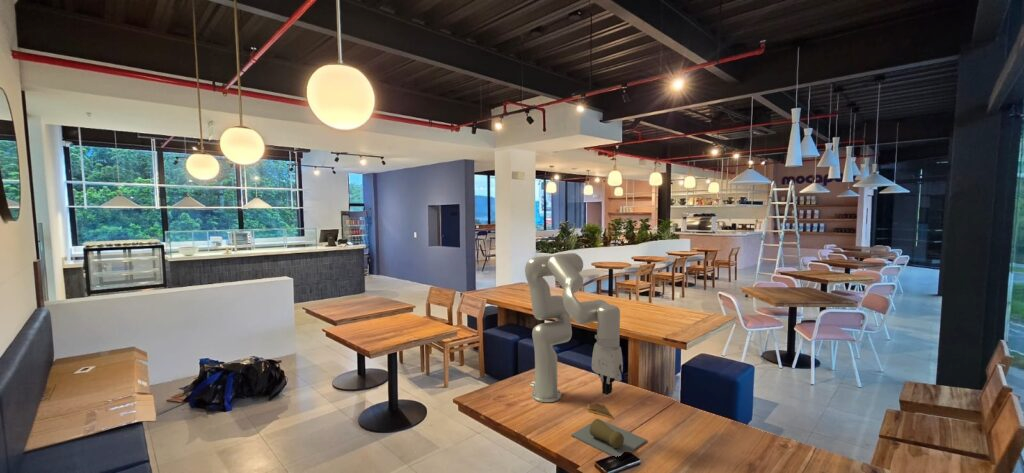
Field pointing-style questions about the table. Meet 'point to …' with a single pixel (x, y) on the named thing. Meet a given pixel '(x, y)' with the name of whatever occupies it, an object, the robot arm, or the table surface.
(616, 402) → the table surface
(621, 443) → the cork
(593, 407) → the shard
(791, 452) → the table surface
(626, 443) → the slate mat
